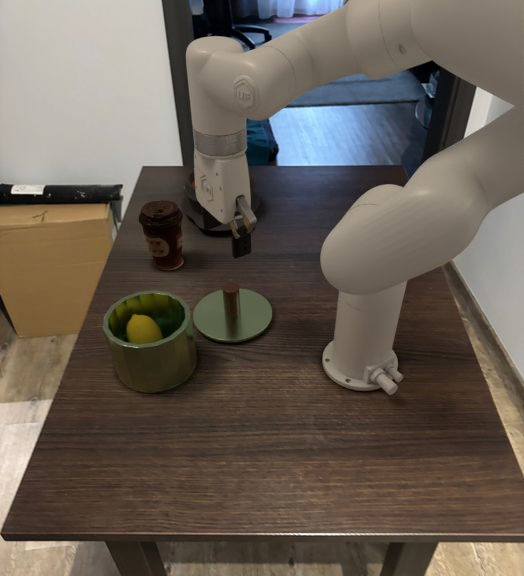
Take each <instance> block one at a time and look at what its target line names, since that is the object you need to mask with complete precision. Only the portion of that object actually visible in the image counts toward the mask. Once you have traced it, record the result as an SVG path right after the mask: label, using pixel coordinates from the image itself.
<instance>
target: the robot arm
mask: <svg viewBox="0 0 524 576" xmlns="http://www.w3.org/2000/svg"><path fill="white" fill-rule="evenodd" d="M431 61H433V62H434V63H435V64H437V66H439V67H441V68H443V69H444V70H446V71H448V72H449V73H451V74H453V75H455V76H456V77H458V78H460V79H461V80H464V81H465V82H468V83H469V84H470V85H473V86H475V87H476V88H478V89H481V90H483V91H484V92H487V93H489V94H491V95H493V96H495V97H496V98H498V99H500V100H502V101H504V102H507V103H508V104H509V105H512V106H513V107H511V108H510V109H508V110H507V111H506V112H503V113H502V114H501V115H499V116H498V117H496V118H495V119H493V120H492V121H490V122H489V123H487V124H486V125H484V126H482V127H481V128H478V129H477V130H475V131H473V132H472V133H470V134H468V135H467V136H465V137H464V138H462V139H460V140H458V141H456V142H455V143H453V144H452V145H450V146H448V147H446V148H444V149H443V150H441V151H438V152H437V153H435V154H433V155H432V156H430V157H429V158H427V159H426V160H425V161H424V162H423V163H422V164H421V165H419V167H418V168H417V169H416V170H415V172H414V173H413V174H412V176H411V177H410V178H409V179H408V181H407V182H406V184H405V185H404V186H401V185H398V184H392V183H390V184H389V183H387V184H386V183H385V184H380V185H377V186H374V187H372V188H370V189H369V190H367V191H366V192H364V193H363V194H362V195H361V196H359V197H358V199H357V200H356V201H355V202H354V203H353V204H352V205H351V206H350V207H349V209H348V210H346V212H345V214H344V215H343V217H342V218H341V219H340V220H339V222H338V223H337V224H336V225H335V226H334V227H333V228H332V230H331V231H330V232H329V234H328V235H327V236H326V238H325V240H324V242H323V244H322V247H321V250H320V256H319V261H320V269H321V272H322V274H323V276H324V278H325V280H326V281H327V282H328V283H329V284H330V285H331V286H332V287H333V288H335V289H336V290H338V297H337V304H336V305H337V306H336V314H335V315H336V316H335V324H334V334H333V340H332V341H330V342H329V343H328V344H327V345H326V346H325V348H324V350H323V352H322V362H321V363H322V367H323V370H324V372H325V373H326V375H327V376H328V378H329V379H331V380H332V381H333V382H334V383H336V384H337V385H339V386H341V387H344V388H346V389H348V390H353V391H360V392H361V391H362V392H366V391H375V390H378V389H382V390H383V391H384V392H385V393H386V394H388V396H392V395H394V394H395V393H396V392H397V390H398V389H399V386H398V385H397V383H400V382H402V380H403V379H404V375H403V374H402V373H401V372H399V371H398V367H399V362H398V357H397V354H396V353H395V351H394V350H393V346H394V341H395V336H396V333H397V328H398V323H399V318H400V314H401V309H402V305H403V302H404V301H403V300H404V297H405V294H406V293H405V292H406V289H407V284H408V281H410V280H412V279H414V278H417V277H419V276H421V275H424V274H426V273H428V272H431V271H434V270H435V269H437V268H439V267H442V266H444V265H446V264H447V263H449V262H451V261H452V260H454V259H455V258H457V257H458V256H459V255H461V253H463V252H464V251H465V250H466V249H467V248H468V247H469V245H470V244H471V243H472V241H473V240H474V239H475V237H476V235H477V234H478V232H479V230H480V228H481V226H482V224H483V222H484V220H485V219H486V218H487V216H488V215H489V214H490V213H491V212H492V211H493V210H495V209H496V208H498V207H499V206H501V205H503V204H504V203H506V202H509V201H510V200H512V199H514V198H516V197H518V196H520V195H522V194H524V0H348V1H347V2H346V3H345V4H343V5H341V6H340V7H338V8H336V9H334V10H332V11H330V12H328V13H325V14H323V15H322V16H319V17H318V18H315V19H313V20H311V21H309V22H307V23H305V24H302V25H300V26H299V27H296V28H294V29H291V30H290V31H287V32H285V33H283V34H280V35H279V36H277V37H275V38H273V39H271V40H269V41H267V42H264V43H263V44H262V45H260V46H258V47H256V48H253V49H251V50H247V51H244V48H243V45H242V44H241V42H239V41H238V40H236V39H234V38H231V37H228V36H222V35H221V36H219V35H213V36H212V35H211V36H210V35H209V36H204V37H200V38H196V39H194V40H193V41H190V43H189V44H188V46H187V47H186V52H185V63H186V74H187V84H188V93H189V105H190V114H191V115H190V116H191V125H192V133H193V134H192V135H193V144H194V149H193V150H194V151H193V166H194V167H193V170H194V175H195V190H196V198H197V200H198V201H199V203H200V204H201V206H202V207H204V208H202V216H203V226H204V229H203V230H205V231H210V230H209V229H212V228H215V227H218V226H221V224H222V223H223V224H227V223H230V226H231V229H232V230H231V231H232V235H230V236H231V254H232V257H233V258H234V259H236V260H237V259H239V258H241V257H244V256H247V255H250V254H251V253H252V234H253V232H254V231H255V228H256V225H257V222H258V219H257V217H256V215H255V212H254V213H253V212H252V210H251V197H250V182H249V173H248V171H249V166H248V160H247V159H248V158H247V154H246V153H247V149H248V137H247V136H248V135H247V131H248V130H247V120H251V121H254V122H255V121H256V122H260V121H266V120H268V119H270V118H272V117H273V116H275V115H276V114H277V113H279V112H280V111H283V109H285V108H286V107H287V106H288V105H291V103H293V102H294V101H296V100H297V99H298V98H300V97H301V96H302V95H304V94H306V93H307V92H309V91H312V90H314V89H317V88H319V87H322V86H324V85H327V84H330V83H332V82H335V81H337V80H341V79H343V78H347V77H350V76H355V75H363V76H364V77H366V78H367V79H370V80H373V81H378V80H382V79H385V78H387V77H391V76H393V75H396V74H398V73H401V72H404V71H406V70H409V69H411V68H414V67H417V66H421V65H423V64H426V63H428V62H431ZM237 211H239V212H240V213H241V214H240V215H237V216H234V214H235V212H237ZM240 219H242V221H243V224H244V226H241V227H240V228H238V227H237V224H236V222H235V221H237V220H240ZM393 380H394V381H395V382H396V383H395V382H394V381H393Z"/></svg>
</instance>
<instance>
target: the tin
mask: <svg viewBox="0 0 524 576" xmlns="http://www.w3.org/2000/svg"><path fill="white" fill-rule="evenodd" d="M134 314H137V315H145V316H148V317H150V318H151V319H153V320H154V321H155V323H156V324H157V325H158V327H159V329H160V331H161V333H162V338H163V339H162V340H160V341H157V342H153V343H145V344H134V343H129V341H128V338H127V334H126V327H127V324H128V322H129V320H130V319H131V318H132V315H134ZM102 321H103V322H102V323H103V324H102V330H103V333H104V336H105V340H106V343H107V347H108V349H109V352H110V356H111V359H112V362H113V365H114V369H115V372H116V374H117V376H118V378H119V380H120V382H122V384H124V385H125V386H126V387H127V388H129V389H130V390H133V391H136V392H139V393H145V394H156V393H157V394H158V393H163V392H168V391H170V390H172V389H175V388H177V387H179V386H180V385H183V383H185V382H186V381H187V380H188V379H190V377H191V376H192V374H193V373H194V371H195V370H196V367H197V362H198V359H197V358H198V357H197V350H196V341H195V335H194V329H193V328H194V327H193V322H192V321H193V320H192V315H191V308H190V305H188V304H187V303H186V301H185V300H184V298H183V297H181V296H179V295H177V294H175V293H172V292H170V291H166V290H157V289H153V290H152V289H151V290H143V291H136V292H134V293H131V294H129V295H126V296H124V297H122V298H120V299H119V300H118V301H116V302H115V303H113V304H112V305H110V306H109V309H107V311H106V313H105V315H103V320H102Z"/></svg>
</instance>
